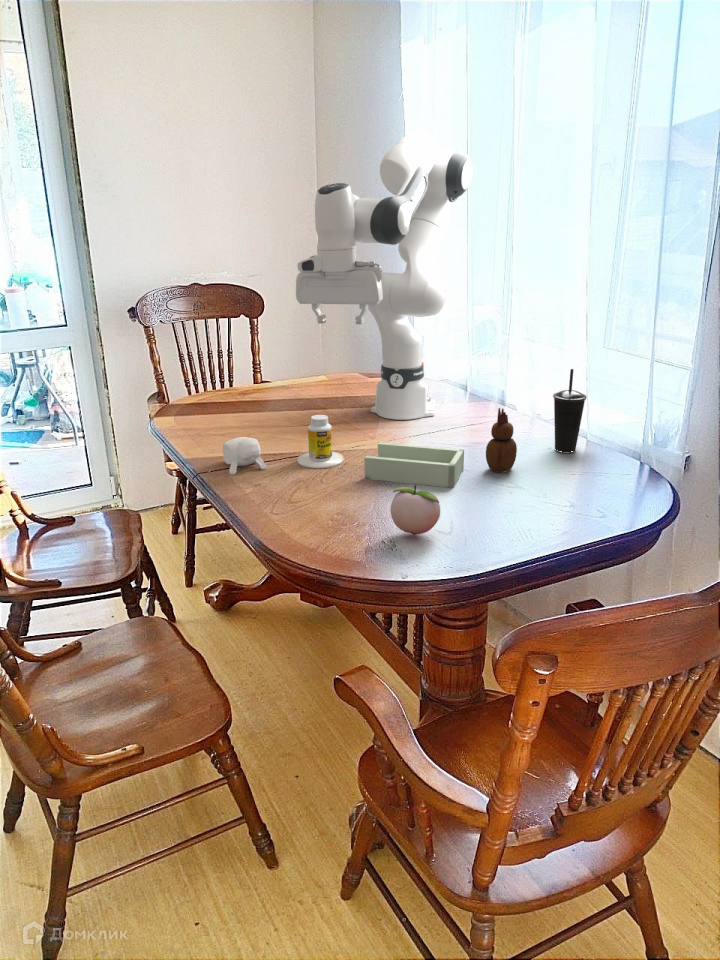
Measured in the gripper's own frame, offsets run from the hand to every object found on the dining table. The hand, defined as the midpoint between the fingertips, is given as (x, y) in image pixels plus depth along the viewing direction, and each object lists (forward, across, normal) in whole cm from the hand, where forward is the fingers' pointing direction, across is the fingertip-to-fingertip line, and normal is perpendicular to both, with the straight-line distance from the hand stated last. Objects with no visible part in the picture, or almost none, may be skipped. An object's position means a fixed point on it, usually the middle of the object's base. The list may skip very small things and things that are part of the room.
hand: (340, 323), depth 170 cm
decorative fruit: (+30, -29, +43) cm, 60 cm away
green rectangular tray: (+31, -20, +12) cm, 39 cm away
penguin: (+31, +18, +19) cm, 41 cm away
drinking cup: (+33, -51, -14) cm, 62 cm away
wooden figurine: (+32, -38, +4) cm, 50 cm away
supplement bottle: (+30, +3, +9) cm, 32 cm away
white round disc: (+31, +4, +10) cm, 33 cm away
